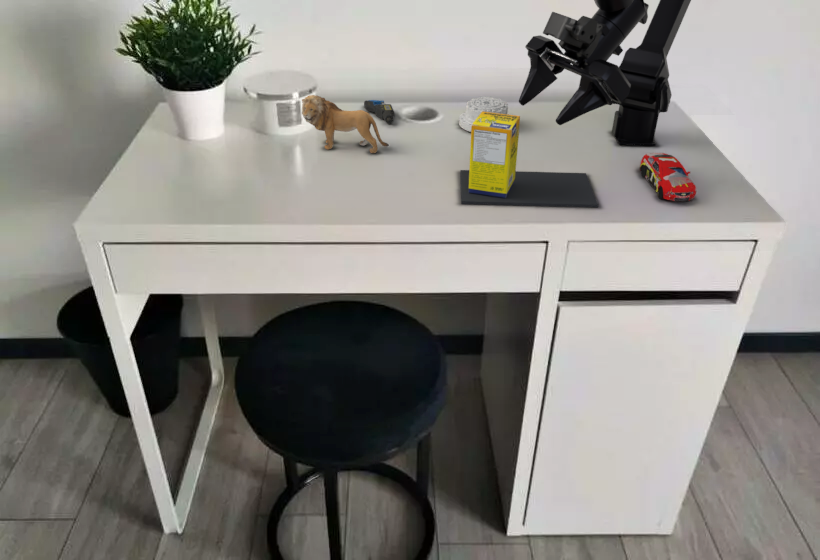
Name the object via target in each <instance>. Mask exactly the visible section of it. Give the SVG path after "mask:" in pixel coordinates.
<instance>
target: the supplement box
mask: <svg viewBox="0 0 820 560" xmlns="http://www.w3.org/2000/svg"><path fill="white" fill-rule="evenodd" d="M507 114H508V113H507ZM507 114H499V113H491V112H484V111H482V112H481V114H480V115H479V116H478V117H477V119H476V120H475V121H474V122H473V124H472V127H471V132H470V148H469V169H468V170H469V193H475V194H482V195H489V196H495V197H502V198H506V197H507V195H508V194H509V192H510V190H511V188H512V186H513V184H514V182H515V172H516V171H517V159H518V147H519V138H520V137H519V136H520V123H521V116H520V115H515V114H509V115H507Z"/></svg>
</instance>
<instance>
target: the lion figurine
mask: <svg viewBox="0 0 820 560" xmlns="http://www.w3.org/2000/svg"><path fill="white" fill-rule="evenodd" d="M301 101H302V102H301V103H302V104H301V115H302V116H303V117H302V118H303V119H304V120H305V122H306V123H308V124H310V125H312V126H314V128H315V129H316V130H317V131H321V132H324V134H325V138H326V140H325V145H324V149H325V150H331V149H333V147H334V144H335V143H334V139H335V132H342V133H348V132H353V131H355V130H357V132H358V133H359V135H360V136H361V138H363V139H364V140H360V142H359V145H360V146H366V145H368V144H370V145H371V146H372V147H370V148H369V150H368V151H369V153H371V154H376V153H377V152H378V149H379V147H378V143H377V141H378V142H379V143H380V145H381V146H382V147H385V148H387V147H389V146H390V145H389V143H388V142H385V141H383V140H382V138H381V136H380V135H381V134H380V133H379V129H378V126H377V123H376V121H375V119H374V118H373V116H372V115H371V114H370V113H369V111H365V110H363V109H357V110H344V109H341V108H340V107H338V106H337V104H335V103H334V102H332V101H330V100H327V99H326V98H325V97H322V96H319V95H315V94H308V95H307V96H306V97H304V98H302V99H301ZM371 126H372V128H373V131H374V133H375V136H376V138H377V139H376V138H375V137H374V136H373V134H372V133H371V130H370V129H371Z"/></svg>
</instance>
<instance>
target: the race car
mask: <svg viewBox="0 0 820 560" xmlns="http://www.w3.org/2000/svg"><path fill="white" fill-rule="evenodd" d="M639 171H640V175H641V178H645V180H646V181H647V182H648V184H649V185H650V186H651V188H653V190H654V191H655V192H656V193H657V196H658V199H659V200H667V201H672V202H688V201H689V202H690V201H691V200H693V199H695V197H696V195H697V186H696V184H695V183H694V182H693V180H692V179H691V177H690V176H689V175H690V174H691V173H692V172H691V171H687V170H686V168H685V167H684V165H683V164H682V163H681V162H680V161H679V159H678V158H676V157H675V156H674V155H672V154H669V153H664V152H647V153H645V154H644V155H643V157H642V158H641V160H640V164H639Z"/></svg>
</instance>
